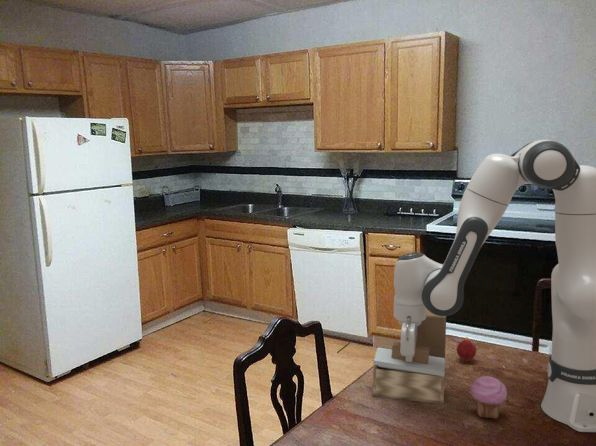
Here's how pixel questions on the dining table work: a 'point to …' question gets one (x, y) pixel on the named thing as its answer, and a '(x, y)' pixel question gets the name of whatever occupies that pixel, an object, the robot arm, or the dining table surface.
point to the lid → (418, 364)
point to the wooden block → (433, 334)
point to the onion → (466, 350)
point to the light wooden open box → (407, 385)
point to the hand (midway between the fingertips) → (409, 358)
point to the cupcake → (488, 396)
